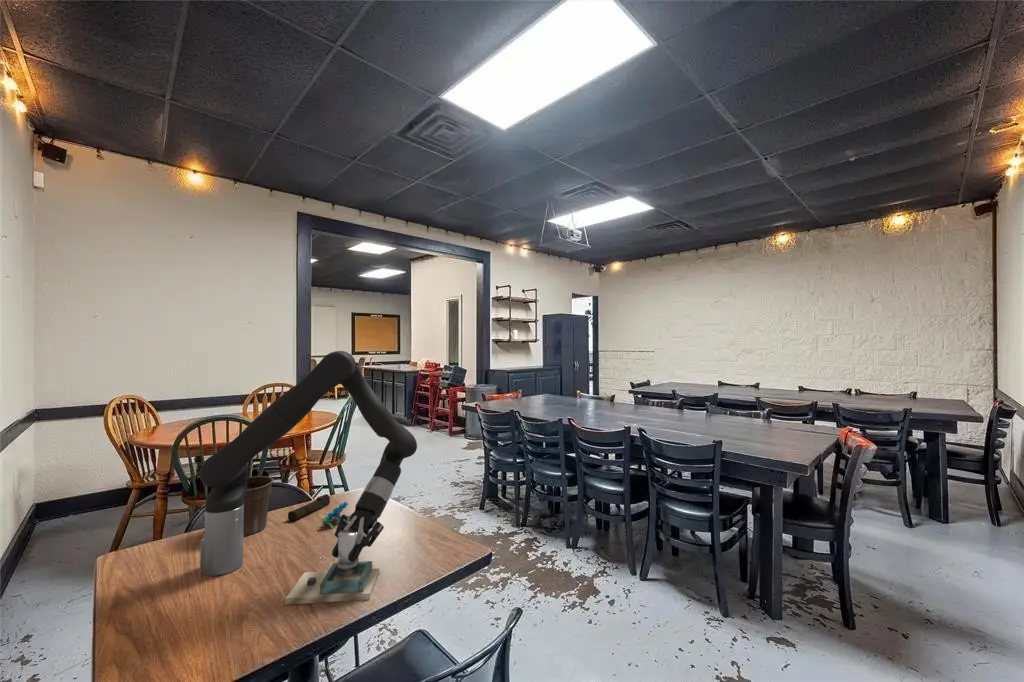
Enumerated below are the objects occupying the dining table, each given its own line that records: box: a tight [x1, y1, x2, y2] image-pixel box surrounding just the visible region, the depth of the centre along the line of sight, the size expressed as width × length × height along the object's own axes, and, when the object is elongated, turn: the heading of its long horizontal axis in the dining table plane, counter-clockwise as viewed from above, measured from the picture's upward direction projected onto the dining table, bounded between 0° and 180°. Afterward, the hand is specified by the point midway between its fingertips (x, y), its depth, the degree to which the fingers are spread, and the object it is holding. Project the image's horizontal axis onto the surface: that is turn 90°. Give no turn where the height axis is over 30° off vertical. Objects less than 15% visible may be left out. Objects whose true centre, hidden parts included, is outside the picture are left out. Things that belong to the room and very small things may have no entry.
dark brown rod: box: [287, 494, 331, 522], centre depth 160 cm, size 19×4×5 cm, turn 159°
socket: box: [337, 529, 360, 576], centre depth 110 cm, size 5×5×10 cm
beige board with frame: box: [284, 560, 381, 606], centre depth 109 cm, size 20×12×4 cm, turn 96°
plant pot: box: [243, 475, 274, 537], centre depth 144 cm, size 16×16×16 cm
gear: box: [321, 501, 349, 530], centre depth 149 cm, size 11×6×10 cm
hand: (342, 558), depth 108 cm, fingers closed on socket, 5 cm apart
